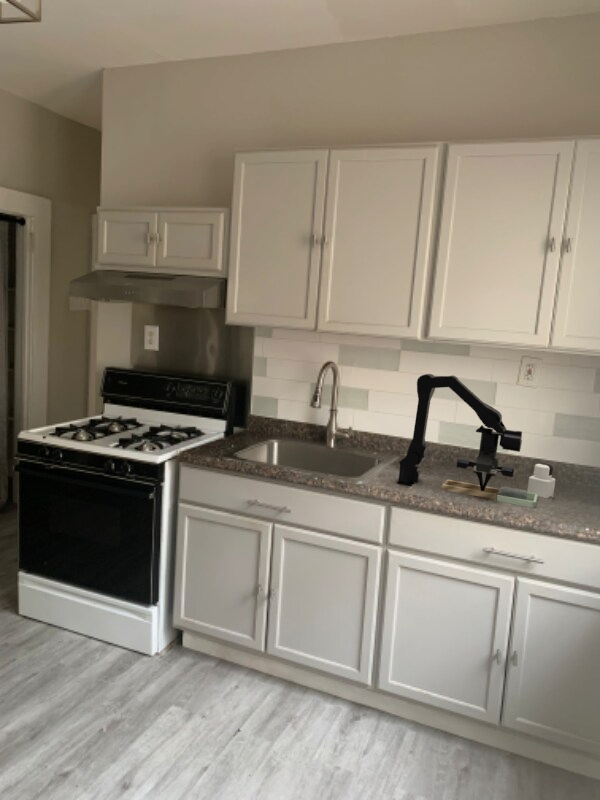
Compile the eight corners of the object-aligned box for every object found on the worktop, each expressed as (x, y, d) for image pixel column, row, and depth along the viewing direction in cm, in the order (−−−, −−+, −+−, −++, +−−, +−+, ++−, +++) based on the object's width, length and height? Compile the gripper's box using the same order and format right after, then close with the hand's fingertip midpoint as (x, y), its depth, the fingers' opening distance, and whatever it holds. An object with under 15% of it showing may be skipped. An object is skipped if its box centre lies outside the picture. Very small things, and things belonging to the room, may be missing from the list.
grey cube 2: (500, 500, 212) (501, 488, 211) (501, 497, 216) (503, 486, 215) (512, 502, 210) (514, 491, 210) (513, 499, 214) (515, 488, 213)
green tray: (496, 504, 209) (497, 495, 208) (500, 495, 220) (501, 487, 219) (534, 511, 204) (535, 502, 204) (536, 502, 215) (537, 493, 215)
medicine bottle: (532, 493, 227) (537, 460, 225) (553, 498, 223) (557, 465, 221) (525, 496, 222) (530, 463, 220) (546, 501, 217) (551, 467, 215)
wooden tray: (441, 492, 217) (442, 484, 217) (446, 487, 225) (447, 479, 225) (495, 502, 210) (496, 494, 210) (498, 496, 218) (499, 488, 218)
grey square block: (512, 502, 211) (514, 491, 210) (513, 499, 214) (515, 488, 214) (525, 504, 209) (526, 493, 208) (526, 502, 213) (527, 490, 212)
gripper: (456, 445, 210) (450, 491, 212) (515, 455, 203) (508, 502, 205) (462, 440, 220) (456, 484, 222) (518, 449, 213) (511, 494, 215)
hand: (482, 491), depth 216 cm, fingers closed
